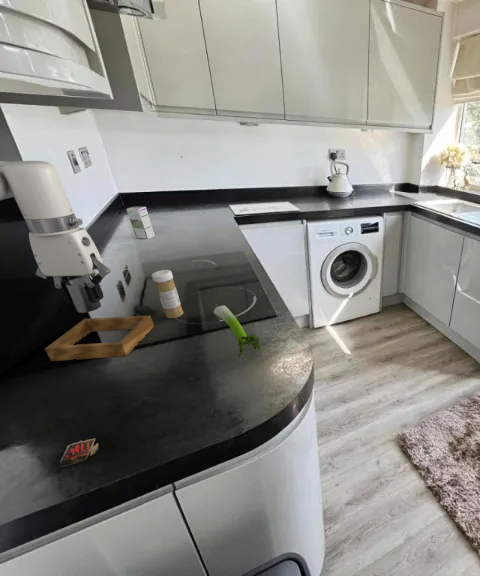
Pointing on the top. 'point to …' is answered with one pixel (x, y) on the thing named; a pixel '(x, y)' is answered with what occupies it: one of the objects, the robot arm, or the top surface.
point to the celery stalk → (237, 329)
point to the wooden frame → (69, 351)
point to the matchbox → (78, 452)
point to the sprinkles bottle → (167, 293)
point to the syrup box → (140, 222)
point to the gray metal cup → (81, 296)
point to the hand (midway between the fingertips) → (85, 300)
